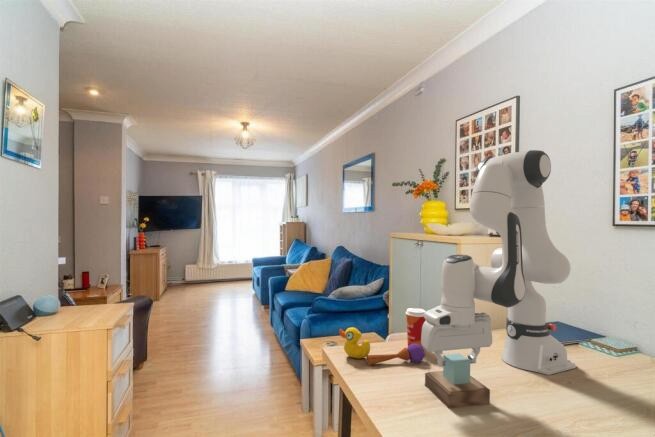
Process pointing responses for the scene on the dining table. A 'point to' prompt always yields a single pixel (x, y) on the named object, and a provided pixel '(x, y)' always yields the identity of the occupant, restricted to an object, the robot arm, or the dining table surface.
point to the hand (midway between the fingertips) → (456, 364)
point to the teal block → (456, 369)
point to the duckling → (354, 343)
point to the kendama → (399, 355)
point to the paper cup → (414, 325)
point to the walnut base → (457, 391)
